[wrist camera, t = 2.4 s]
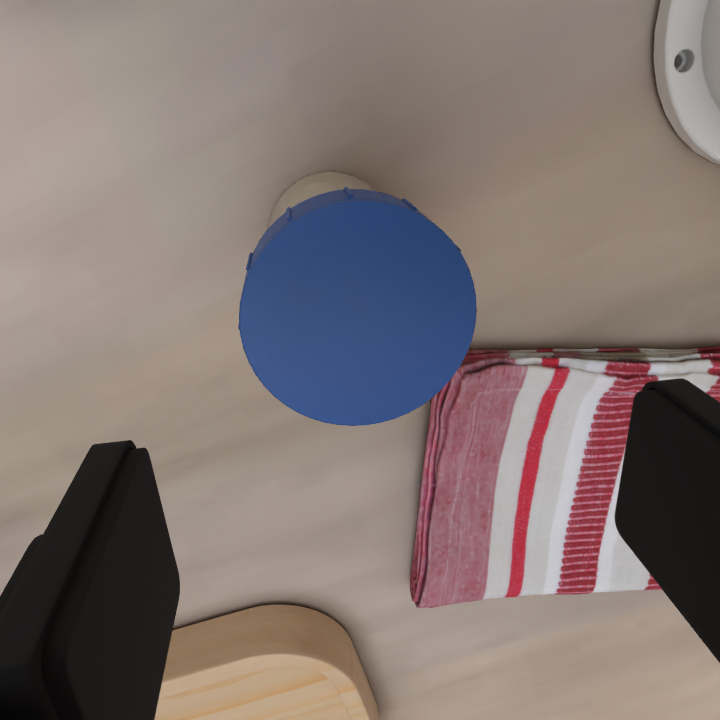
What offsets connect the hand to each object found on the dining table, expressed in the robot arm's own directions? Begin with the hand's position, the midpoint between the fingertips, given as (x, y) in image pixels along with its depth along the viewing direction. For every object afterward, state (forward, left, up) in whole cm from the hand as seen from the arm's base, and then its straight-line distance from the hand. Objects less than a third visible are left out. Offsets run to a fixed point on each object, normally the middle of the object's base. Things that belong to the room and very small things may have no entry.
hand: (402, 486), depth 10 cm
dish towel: (+11, +19, -19) cm, 29 cm away
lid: (0, 0, -8) cm, 8 cm away
